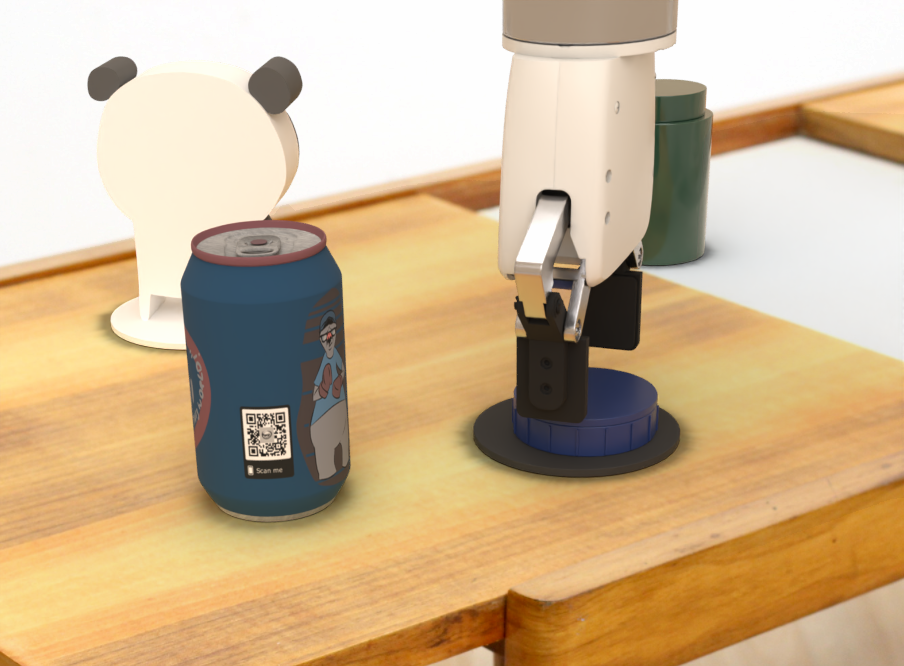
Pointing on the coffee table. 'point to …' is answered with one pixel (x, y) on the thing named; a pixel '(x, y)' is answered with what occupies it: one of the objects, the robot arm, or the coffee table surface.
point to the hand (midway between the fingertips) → (580, 380)
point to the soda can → (267, 368)
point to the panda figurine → (189, 167)
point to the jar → (679, 174)
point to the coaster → (508, 449)
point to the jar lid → (598, 418)
